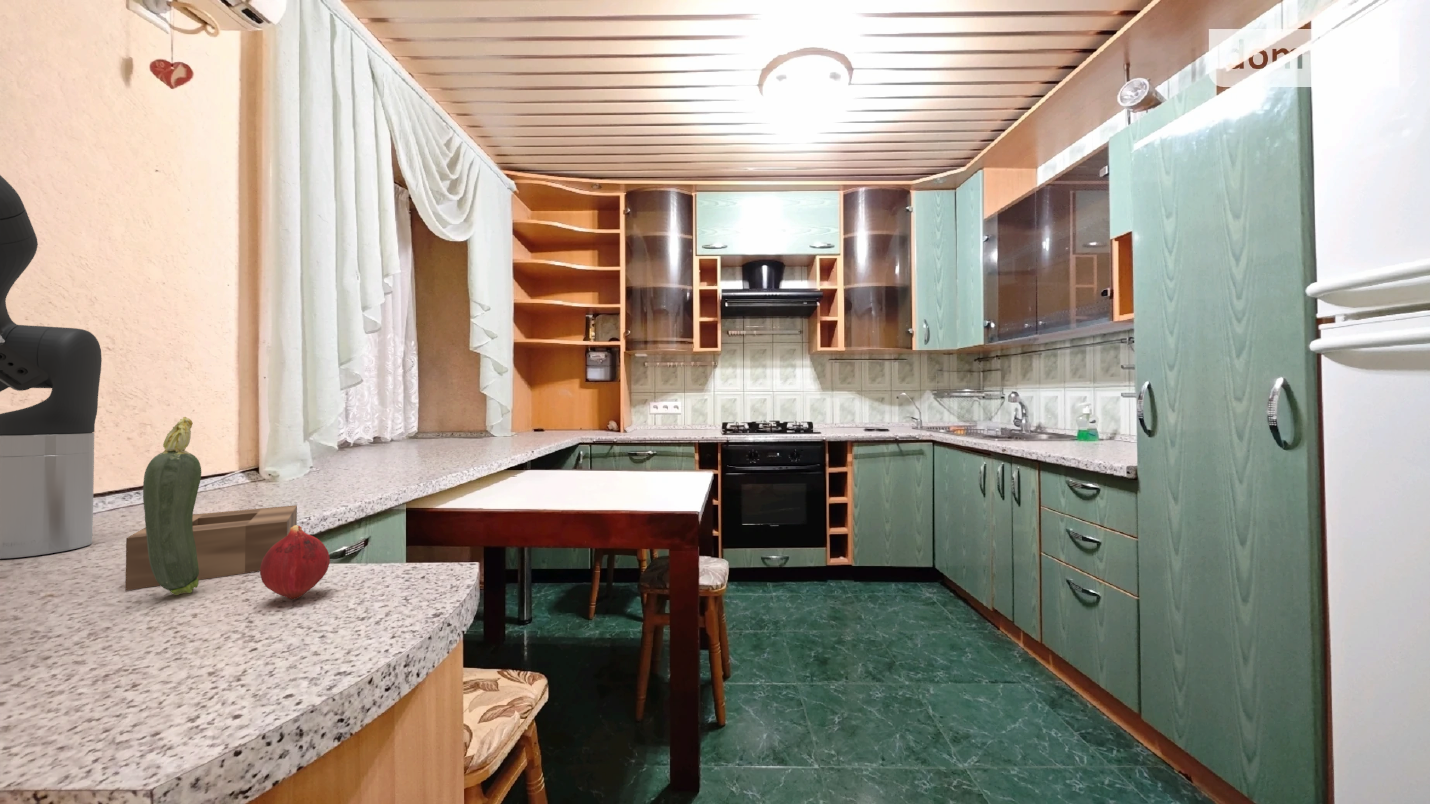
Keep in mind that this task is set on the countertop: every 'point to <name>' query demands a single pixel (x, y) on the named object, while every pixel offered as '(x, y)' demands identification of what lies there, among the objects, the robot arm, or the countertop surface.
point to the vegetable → (172, 511)
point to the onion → (294, 564)
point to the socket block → (218, 543)
